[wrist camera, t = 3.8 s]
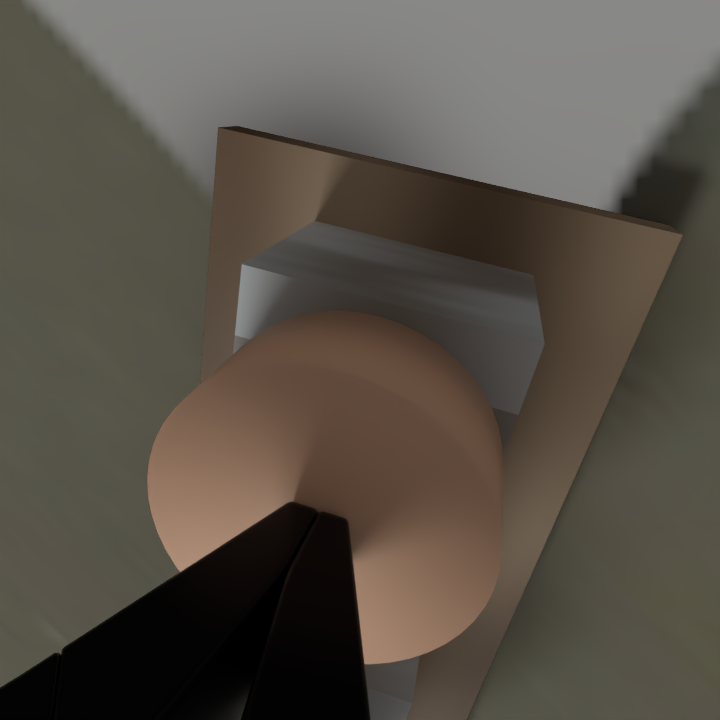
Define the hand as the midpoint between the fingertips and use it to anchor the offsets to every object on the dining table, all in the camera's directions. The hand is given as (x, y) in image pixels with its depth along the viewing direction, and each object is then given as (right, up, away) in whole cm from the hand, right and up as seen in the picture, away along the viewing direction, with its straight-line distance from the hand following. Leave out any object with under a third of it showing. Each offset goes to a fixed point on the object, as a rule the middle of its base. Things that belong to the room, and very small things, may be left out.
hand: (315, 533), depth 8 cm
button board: (0, -5, +11) cm, 12 cm away
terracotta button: (+1, +2, +5) cm, 6 cm away
